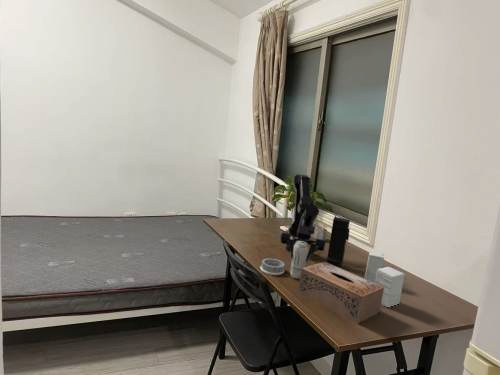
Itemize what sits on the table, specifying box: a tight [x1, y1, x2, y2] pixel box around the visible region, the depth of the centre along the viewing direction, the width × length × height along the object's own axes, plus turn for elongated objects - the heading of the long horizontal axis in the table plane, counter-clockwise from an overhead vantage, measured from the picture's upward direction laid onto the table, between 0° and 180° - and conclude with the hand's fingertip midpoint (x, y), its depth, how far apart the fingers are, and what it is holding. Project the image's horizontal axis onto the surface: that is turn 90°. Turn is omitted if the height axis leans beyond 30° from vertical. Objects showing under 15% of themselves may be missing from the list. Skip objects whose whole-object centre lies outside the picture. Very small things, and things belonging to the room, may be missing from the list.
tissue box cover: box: [297, 261, 384, 324], centre depth 133 cm, size 26×14×10 cm, turn 42°
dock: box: [259, 258, 285, 276], centre depth 156 cm, size 10×10×3 cm
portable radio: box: [326, 215, 351, 269], centre depth 168 cm, size 8×6×25 cm
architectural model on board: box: [311, 222, 328, 241], centre depth 210 cm, size 11×3×10 cm, turn 31°
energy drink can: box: [289, 241, 310, 280], centre depth 151 cm, size 6×6×15 cm
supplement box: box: [375, 266, 406, 308], centre depth 137 cm, size 7×7×13 cm
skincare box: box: [363, 251, 385, 283], centre depth 156 cm, size 6×4×12 cm
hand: (299, 259), depth 150 cm, fingers closed on energy drink can, 6 cm apart
